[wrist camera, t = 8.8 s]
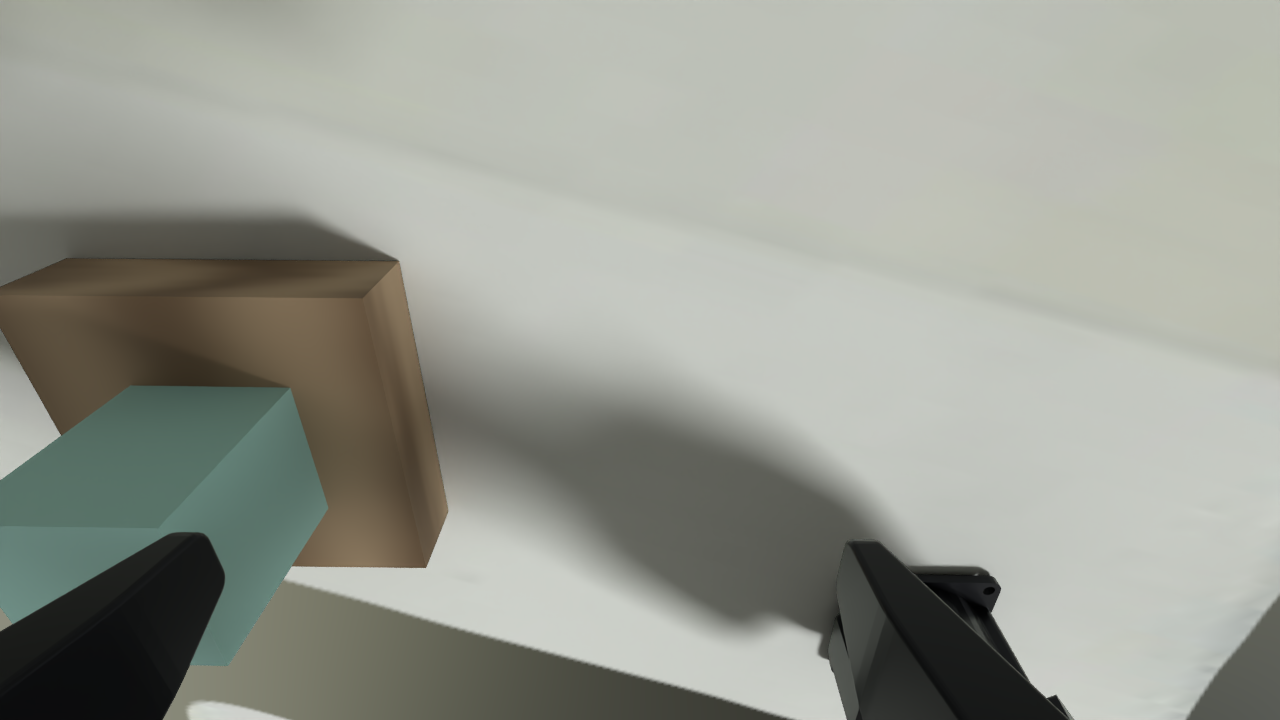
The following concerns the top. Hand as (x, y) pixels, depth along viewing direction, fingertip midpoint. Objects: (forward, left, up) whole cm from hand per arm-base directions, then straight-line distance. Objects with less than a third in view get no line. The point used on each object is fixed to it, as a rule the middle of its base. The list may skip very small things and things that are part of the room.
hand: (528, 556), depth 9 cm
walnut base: (+12, +6, -13) cm, 19 cm away
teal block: (+12, +6, -10) cm, 17 cm away
